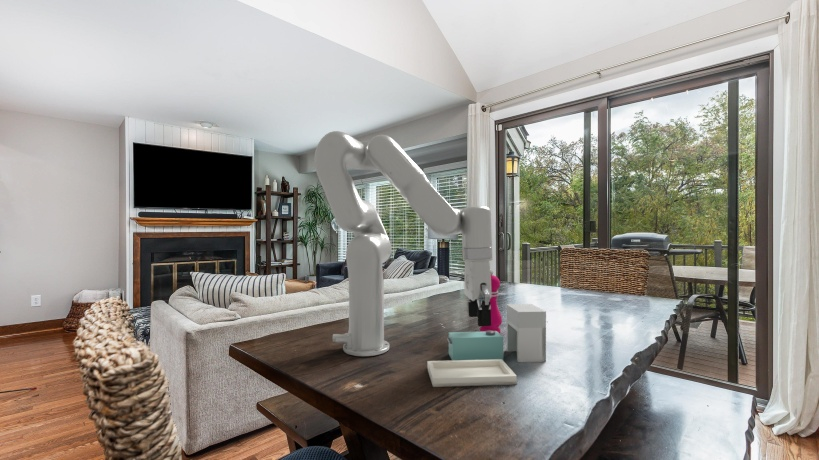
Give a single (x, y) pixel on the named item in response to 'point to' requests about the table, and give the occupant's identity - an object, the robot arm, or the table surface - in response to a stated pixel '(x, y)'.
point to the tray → (470, 373)
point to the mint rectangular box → (475, 345)
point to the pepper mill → (494, 306)
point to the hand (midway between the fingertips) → (479, 321)
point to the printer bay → (526, 332)
